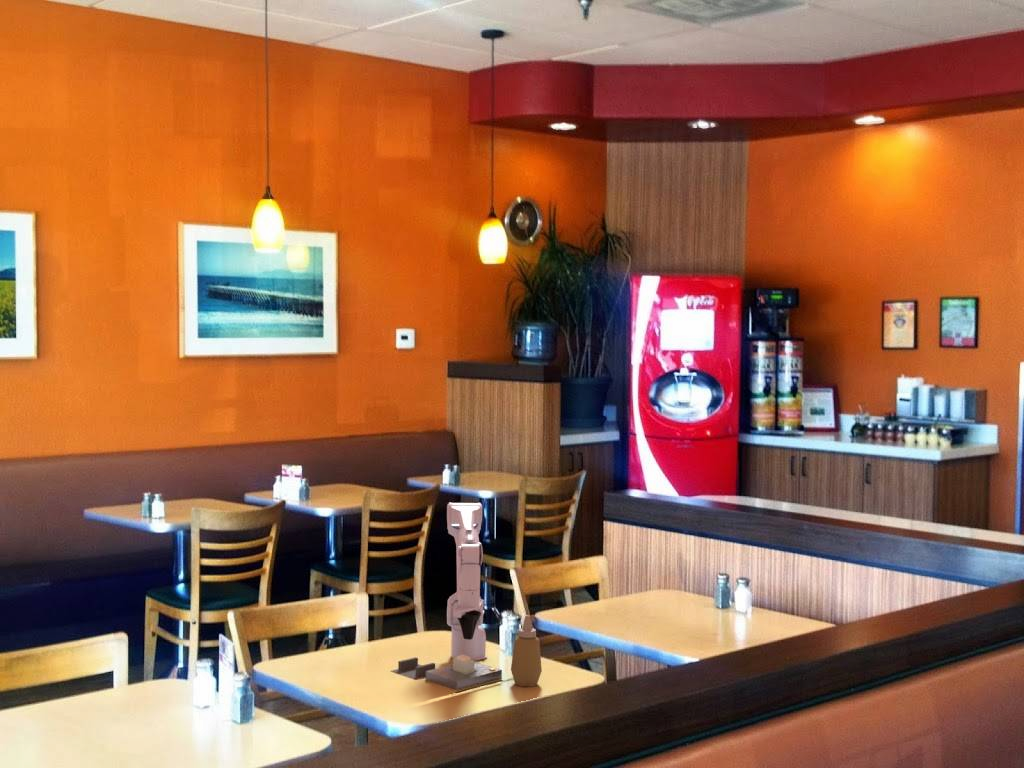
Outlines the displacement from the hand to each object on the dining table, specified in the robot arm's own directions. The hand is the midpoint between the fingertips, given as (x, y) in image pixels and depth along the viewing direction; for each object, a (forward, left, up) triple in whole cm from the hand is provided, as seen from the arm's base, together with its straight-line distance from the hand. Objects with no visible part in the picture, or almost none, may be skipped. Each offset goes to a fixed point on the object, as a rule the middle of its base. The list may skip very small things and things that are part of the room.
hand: (468, 638), depth 337 cm
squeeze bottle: (-5, +17, -10) cm, 20 cm away
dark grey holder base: (+11, -8, -9) cm, 17 cm away
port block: (+6, +5, -9) cm, 12 cm away
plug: (+6, +5, -10) cm, 12 cm away
